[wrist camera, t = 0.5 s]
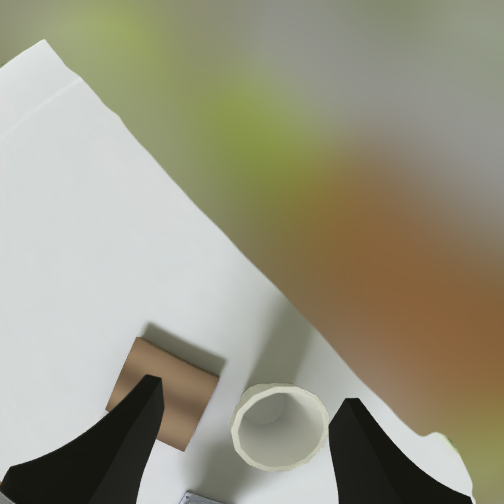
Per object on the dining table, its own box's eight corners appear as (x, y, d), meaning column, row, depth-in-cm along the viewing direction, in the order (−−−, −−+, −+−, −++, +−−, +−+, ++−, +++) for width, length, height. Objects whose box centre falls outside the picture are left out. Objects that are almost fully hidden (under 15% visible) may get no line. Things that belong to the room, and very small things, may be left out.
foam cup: (214, 396, 33) (211, 421, 21) (270, 359, 35) (294, 366, 23) (254, 445, 31) (269, 486, 19) (307, 409, 33) (345, 433, 21)
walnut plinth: (186, 444, 30) (184, 452, 27) (113, 405, 31) (105, 409, 28) (219, 376, 34) (219, 378, 32) (142, 337, 35) (136, 336, 32)
